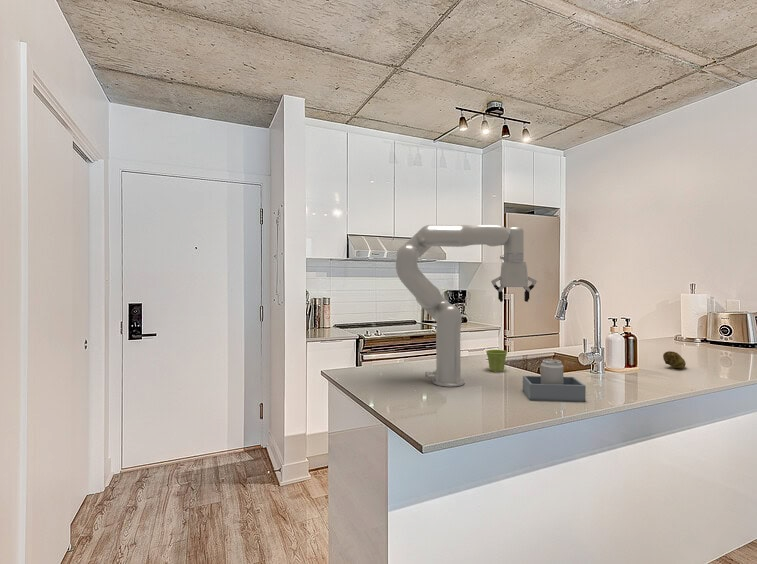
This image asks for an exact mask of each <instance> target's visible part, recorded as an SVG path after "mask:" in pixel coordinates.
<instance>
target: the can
mask: <svg viewBox="0 0 757 564" xmlns="http://www.w3.org/2000/svg"><path fill="white" fill-rule="evenodd" d="M540 376H541V384H559V385H563V377H564V365H563V363H562V361H561V360H558V359H547V358H546V359H543V360H542V362H541V364H540Z"/></svg>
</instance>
